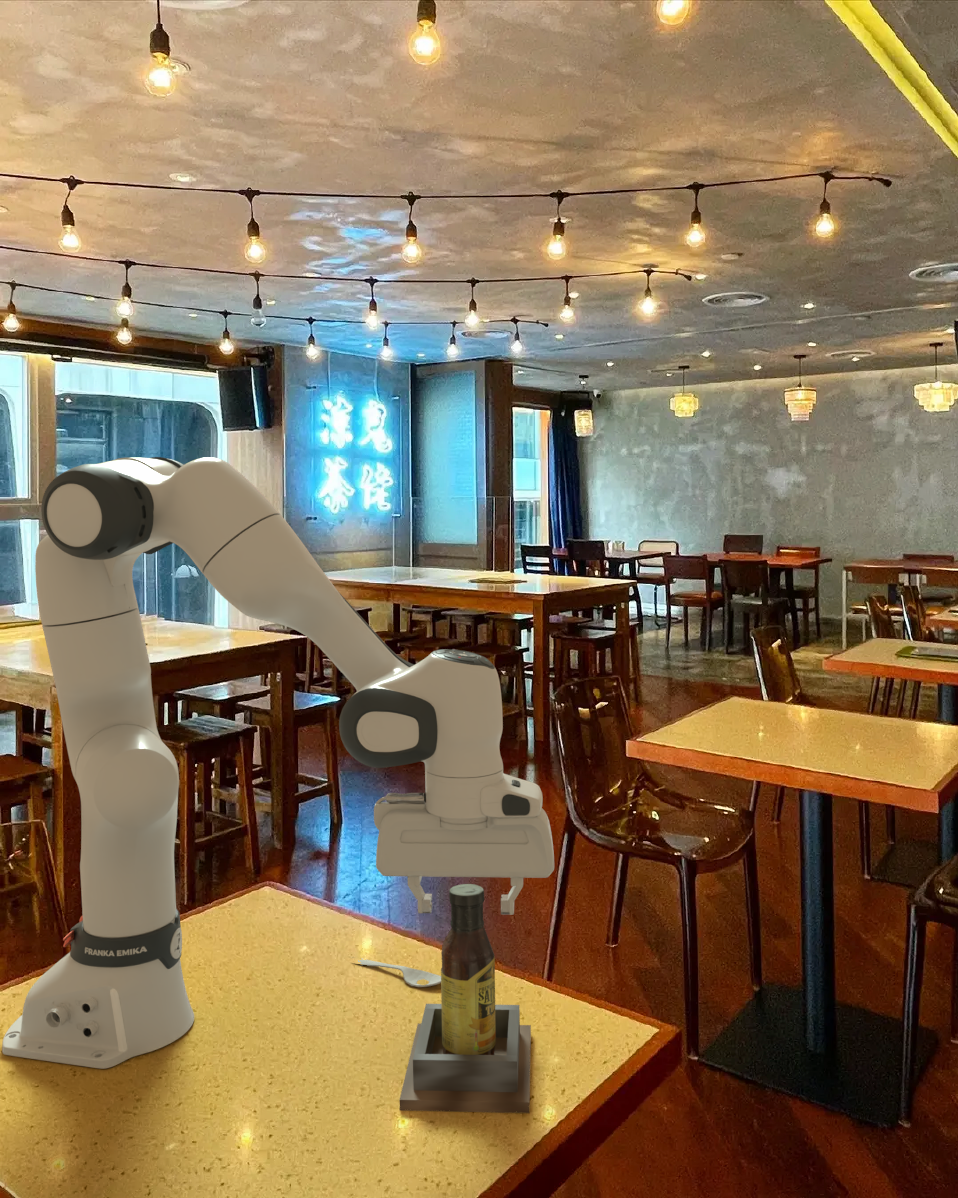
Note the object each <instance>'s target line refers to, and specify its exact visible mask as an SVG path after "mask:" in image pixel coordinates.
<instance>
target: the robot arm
mask: <svg viewBox="0 0 958 1198" xmlns="http://www.w3.org/2000/svg"><path fill="white" fill-rule="evenodd" d="M40 508H41V511H40V512H41V520H42V523H43V527H44V529H45V531H46V533H47V535H44V537H43V538H42V539H41V540H40V541H39V543H38V545H37V547H36V551H35V557H34V558H35V561H34V562H35V564H34V567H35V568H34V570H35V585H36V597H37V603H38V611H39V617H40V620H41V625H42V632H43V634H44V635H43V636H44V639H45V644H46V648H47V653H48V659H49V663H50V667H51V673H52V677H53V680H54V685H55V686H54V687H55V690H56V696H57V701H58V702H57V703H58V708H59V713H60V717H61V719H60V720H61V724H62V728H63V729H62V730H63V734H64V740H65V744H66V750H67V755H68V759H69V765H70V768H71V769H70V770H71V773H72V776H73V779H74V780H75V782H76V784H77V787H78V792H79V797H80V811H81V813H80V815H81V818H80V819H81V821H80V822H81V825H80V826H81V829H80V831H81V835H80V836H81V837H80V839H81V841H80V845H81V846H80V848H81V849H80V862H79V872H80V875H79V876H80V888H81V890H80V891H81V908H82V909H81V910H82V912H81V913H82V915H81V916H80V918H79V920H78V921H79V922H78V923H76V924H75V925H74V926H72V927H71V928H70V930H69V931H70V932H69V933H67V934H66V935H65V937H63V939H62V941H64V943H63V946H62V947H63V948H66V947H67V946H69V944H70V948H71V949H70V951H69V952H68V953H67V954H65V955H64V956H63V957H62V958H61V959H59V960H58V961H57V962H56V963H55V964H53V966H51V967H50V968H49V969H47V971H45V972H44V973H43V974H42V975H41V976H40V977H39V978H38V979H37V980H36V981H35V982H34V983H33V985H32V986H31V988H30V989H29V991H28V992H27V994H26V996H25V998H24V1003H23V1009H22V1015H20V1016H19V1017H18V1018H17V1019H16V1020H15V1021H14V1022H13V1023H12V1024H11V1025H10V1027H9V1028H8V1030H7V1031H6V1033H5V1034H4V1036H3V1039H2V1054H3V1055H5V1056H12V1057H18V1058H25V1059H32V1060H39V1061H45V1062H46V1061H47V1062H52V1063H58V1064H59V1063H60V1064H67V1065H74V1066H80V1067H87V1068H92V1069H93V1068H95V1069H104V1070H105V1069H110V1068H112V1067H115V1066H116V1065H119V1064H121V1063H122V1062H125V1061H127V1060H128V1059H131V1058H134V1057H137V1056H140V1055H143V1054H148V1053H150V1052H154V1051H155V1050H156V1051H157V1050H159V1049H161V1048H163V1047H165V1046H167V1045H169V1044H171V1043H173V1042H175V1041H176V1040H178V1039H180V1038H181V1037H182V1036H184V1035H185V1034H187V1032H188V1031H189V1030H190V1029H191V1027H192V1026H193V1023H194V1021H195V1013H194V1011H193V1008H192V1005H191V1002H190V1000H189V997H188V996H189V995H188V993H187V990H186V989H187V988H186V985H185V980H184V975H183V969H182V963H181V957H182V950H183V934H182V927H181V916H180V915H181V914H180V911H179V910H178V909H177V901H176V900H177V899H176V878H175V876H176V875H175V873H176V872H175V841H176V832H177V823H178V820H177V819H178V803H179V786H180V774H179V772H180V771H179V767H178V762H177V760H176V758H175V755H174V754H173V752H172V751H171V749H170V748H169V747H168V746H167V745H166V744H165V743H164V742H163V741H162V738H161V736H160V734H159V731H158V727H157V722H156V721H157V720H156V713H155V708H154V706H155V705H154V697H153V688H152V686H153V685H152V675H151V674H152V668H151V663H150V659H149V652H148V648H147V644H146V639H145V633H144V629H143V625H142V620H141V614H140V610H139V605H138V601H137V595H136V591H135V587H134V581H133V569H134V565H135V563H136V561H137V560H138V558H139V557H140V555H142V554H145V555H152V554H153V555H154V554H156V552H157V553H158V552H159V551H161V550H162V549H164V548H166V547H168V546H170V545H173V544H175V545H176V546H178V547H179V548H180V549H182V550H183V551H184V552H185V553H186V554H187V556H188V557H189V559H191V560H192V562H193V563H194V564H195V566H196V567H197V568H198V569H199V571H200V572H201V573H202V574H203V576H204V577H205V578H206V579H207V580H208V582H209V583H210V584H211V586H213V588H214V589H215V590H216V592H217V593H219V594H220V596H222V597H223V598H224V599H225V601H227V602H228V603H230V604H231V605H232V606H233V607H234V608H235V609H237V610H238V611H239V612H240V613H241V614H243V615H244V616H246V617H249V618H253V619H257V620H260V621H264V622H270V623H274V624H278V625H281V626H284V627H287V628H290V629H292V630H295V631H297V632H299V633H301V634H303V635H304V636H306V637H307V638H308V639H309V640H311V641H312V642H313V643H314V644H315V645H316V646H317V647H318V648H319V649H320V650H321V651H322V652H323V654H324V655H326V657H327V658H328V659H329V660H330V661H331V662H332V663H333V664H334V666H335V667H336V668H337V670H338V671H340V673H342V675H343V676H344V677H345V678H346V679H347V680H348V681H349V683H351V685H352V686H353V687H354V688H355V690H356V692H354V694H352V695H351V697H350V698H349V699H348V700H347V701H346V703H345V704H344V706H343V707H342V709H341V712H340V715H339V721H338V729H339V736H340V739H341V741H342V744H343V747H344V748H345V750H346V751H347V752H348V754H349V755H350V756H351V757H352V758H353V759H354V760H356V762H359V763H361V764H363V765H364V766H368V767H371V768H374V769H375V768H376V769H383V768H391V767H398V766H405V765H410V764H415V763H419V762H423V763H424V773H425V775H424V778H425V781H424V783H425V787H424V788H425V792H408V793H398V792H390V793H386V796H383V797H380V798H379V799H378V800H377V801H376V802H375V804H374V806H373V822H374V825H375V827H376V828H377V830H378V836H377V843H376V852H375V853H376V855H375V856H376V857H375V867H376V869H377V871H378V872H379V873H380V874H381V875H382V876H383V877H407V886H408V888H409V890H410V891H411V892H412V894H413V896H414V898H415V899H416V900H417V914H432V910H433V902H432V901H433V893H426V892H425V891H424V889H423V887H422V886H421V882H422V878H423V877H429V878H430V877H433V878H435V877H438V878H440V877H443V878H510V886H511V888H510V891H509V892H508V894H500V895H501V896H500V914H501V915H510V916H511V915H514V914H515V901H516V899H517V897H518V895H519V894H520V892H521V890H522V889H523V888H524V879H525V878H530V879H532V878H533V879H535V878H537V879H543V878H545V879H547V878H549V877H550V875H551V874H553V872H554V870H555V854H554V844H553V835H552V828H551V824H550V819H549V817H548V814H547V812H546V811H545V810H544V809H543V808H542V807H543V792H542V790H541V788H540V785H538V784H537V783H534V782H532V781H528V780H525V779H522V778H518V777H516V776H513V775H510V774H507V773H504V763H503V759H502V756H501V751H500V749H501V748H500V743H501V738H502V734H503V729H504V727H503V726H504V724H503V723H504V722H503V721H504V720H503V717H504V716H503V701H502V699H503V698H502V690H501V682H500V677H499V674H498V671H497V669H496V667H495V665H494V664H493V663H492V661H490V660H489V658H487V657H485V656H483V655H480V654H479V653H475V652H471V651H467V650H460V649H448V648H447V649H446V648H445V649H443V648H442V649H437V650H433V651H432V652H431V653H430V654H428V656H426V657H424V659H422V660H420V661H419V662H417V663H416V664H414V663H411V662H409V661H408V660H405V659H404V658H403V657H401V656H399V655H398V654H396V653H395V651H394V650H392V649H391V648H390V646H388V645H387V644H386V642H384V640H383V639H382V638H381V637H380V635H378V634H377V633H376V632H375V630H374V629H373V628H372V627H371V626H370V624H368V623H367V622H366V620H365V619H364V617H362V616H361V615H360V614H359V613H358V611H356V609H355V608H354V607H353V606H352V605H351V604H350V603H349V601H347V600H346V598H345V597H344V596H343V595H342V594H341V593H340V592H339V591H338V589H337V588H336V586H335V585H334V584H333V583H332V581H331V580H330V579H329V577H328V576H327V574H326V573H325V572H324V571H323V569H322V568H321V567H320V565H319V564H318V563H317V561H316V560H315V558H314V557H313V555H312V554H311V552H309V550H308V548H307V547H306V545H305V544H304V543H303V541H302V540H301V539H300V538H299V536H298V535H297V533H296V532H295V530H294V529H293V528H292V527H291V526H290V524H289V523H288V522H287V521H286V519H285V518H284V517H283V515H281V513H280V512H279V511H278V509H276V507H275V506H274V505H273V504H272V502H271V501H270V500H269V499H268V498H267V497H266V496H265V495H264V494H263V493H262V492H261V491H260V490H259V489H258V488H257V487H256V486H255V485H254V484H253V483H252V482H251V481H250V480H248V479H247V477H245V476H244V475H243V474H242V473H241V472H239V471H238V470H237V469H236V468H235V467H233V466H232V465H231V464H230V463H229V462H227V461H226V460H223V459H220V458H218V457H213V456H212V457H209V456H207V457H205V456H204V457H200V458H197V459H196V458H195V459H193V460H191V461H189V462H187V463H181V462H179V461H178V460H174V459H171V458H166V457H161V456H153V457H135V456H134V457H120V458H116V459H113V460H109V461H103V462H99V463H84V464H80V465H78V466H74V467H72V468H69V469H68V470H66V471H63V472H62V473H60V474H59V475H57V476H56V477H55V478H54V479H53V480H51V482H50V483H49V484H48V485H47V487H46V489H45V491H44V493H43V497H42V501H41V506H40Z"/></svg>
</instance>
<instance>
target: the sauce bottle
mask: <svg viewBox="0 0 958 1198" xmlns="http://www.w3.org/2000/svg"><path fill="white" fill-rule="evenodd" d="M448 892H449V893H448V897H449V904H450V916H451V918H450V926H451V928H450V930H449V932H448V933H447V935H445V937H444V940H443V943H442V945H441V969H440V976H441V983H440V985H441V986H440V988H441V990H440V991H441V993H440V994H441V995H440V996H441V997H440V999H441V1002H440V1004H441V1006H442V1044H443V1053H444V1054H460V1055H494V1047H495V1043H496V1027H495V1005H496V971H495V970H496V967H495V966H496V965H495V964H496V963H495V962H496V960H495V959H496V958H495V953H494V949H493V947H492V944H491V942H490V939H489V936H488V933H487V931H486V929H485V921H484V902H485V890H484V888H483V887H482V886H480V885H477V884H474V883H473V884H472V883H462V884H458V885H457V884H456V885H454V886H452V887H451V888H449V891H448Z"/></svg>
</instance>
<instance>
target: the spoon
mask: <svg viewBox="0 0 958 1198" xmlns="http://www.w3.org/2000/svg"><path fill="white" fill-rule="evenodd" d="M361 959H362V960H360V961H359V960H358V962H361V963H360V964H362V965H361V966H363V965H367V966H366V967H380V968H387V969H395V970H399V971H401V972H402V975H403V980H404V982H405V983H406V984H408V985H409V986H411V987H416V988H427V987H431V986H436V985H439V984H441V975H439V974H436V973H432V972H429V971H425V970H421V969H417V968H413V967H412V968H411V967H407V966H404V965H397V964H389V963H385V962H379V961H376V960H375V961H374V960H372V959H371V960H370V959H366V960H363V959H364V958H361ZM421 980H426V981H428V983H427V984H419V983H418V981H421Z"/></svg>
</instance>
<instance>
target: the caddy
mask: <svg viewBox="0 0 958 1198" xmlns="http://www.w3.org/2000/svg"><path fill="white" fill-rule="evenodd" d="M424 1007H425V1008H424V1010H423V1014H422V1019H421V1022H420V1023H417V1025H416V1030H415V1034H414V1038H413V1042H412V1046H411V1050H410V1055H409V1057H408V1058H409V1059H408V1063H407V1066H406V1071H405V1074H404V1075H405V1076H404V1079H403V1084H402V1087H401V1088H402V1089H401V1091H400V1097H399V1099H398V1100H399V1111H409V1112H411V1111H414V1112H458V1113H459V1112H460V1113H462V1112H464V1113H467V1112H468V1113H500V1114H501V1113H507V1114H508V1113H511V1114H512V1113H513V1114H517V1113H518V1114H530V1109H531V1108H530V1106H531V1105H530V1101H531V1053H532V1052H531V1051H532V1050H531V1040H532V1039H531V1038H532V1029H531V1028H532V1027H531V1024H521V1020H520V1019H521V1018H520V1014H521V1013H520V1004H495V1027H496V1043H495V1047H494V1055H460V1054H444V1053H443V1044H442V1006H441V1003H425V1006H424Z"/></svg>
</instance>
